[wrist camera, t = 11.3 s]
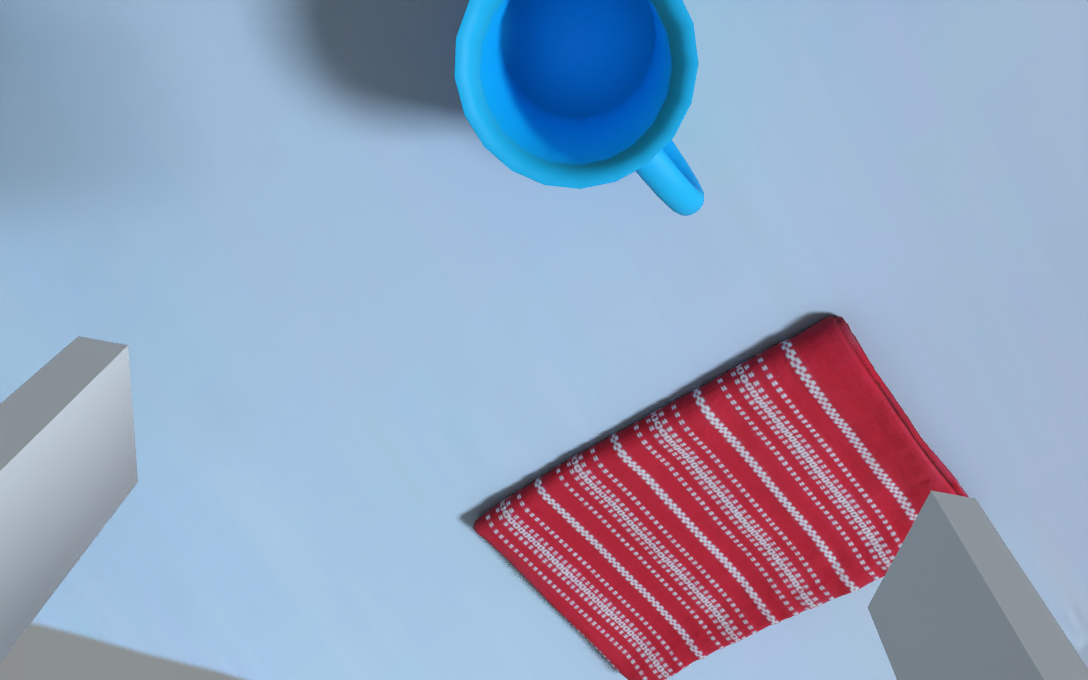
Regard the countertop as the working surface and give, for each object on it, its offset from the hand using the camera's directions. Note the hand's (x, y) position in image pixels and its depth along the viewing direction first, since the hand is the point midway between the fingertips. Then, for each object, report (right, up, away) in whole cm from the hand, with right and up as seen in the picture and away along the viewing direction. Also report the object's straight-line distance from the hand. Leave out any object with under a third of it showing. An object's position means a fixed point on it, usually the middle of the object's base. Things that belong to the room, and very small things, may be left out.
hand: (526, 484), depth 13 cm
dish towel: (+11, -7, +33) cm, 36 cm away
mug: (+3, +14, +22) cm, 26 cm away
